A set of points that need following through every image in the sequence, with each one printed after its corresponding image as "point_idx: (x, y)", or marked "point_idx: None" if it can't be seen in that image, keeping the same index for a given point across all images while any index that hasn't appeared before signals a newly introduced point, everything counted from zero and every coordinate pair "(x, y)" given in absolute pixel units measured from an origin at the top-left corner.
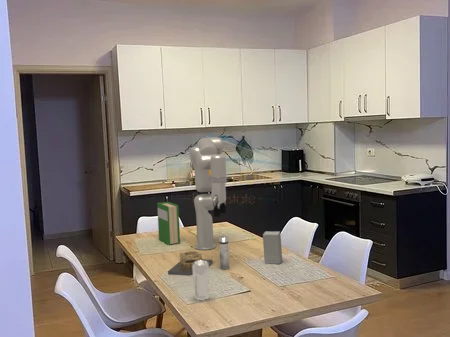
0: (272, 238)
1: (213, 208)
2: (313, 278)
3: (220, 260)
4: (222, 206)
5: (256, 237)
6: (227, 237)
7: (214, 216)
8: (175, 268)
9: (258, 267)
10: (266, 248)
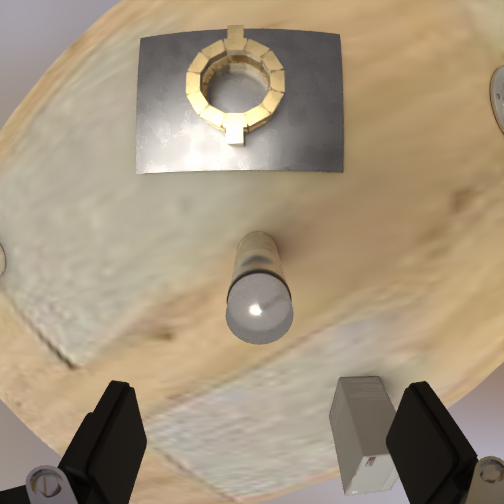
0: (347, 471)
1: (42, 467)
2: (212, 479)
3: (242, 247)
4: (427, 483)
5: None
6: (251, 343)
7: (116, 386)
8: (181, 48)
9: (290, 369)
10: (346, 423)
